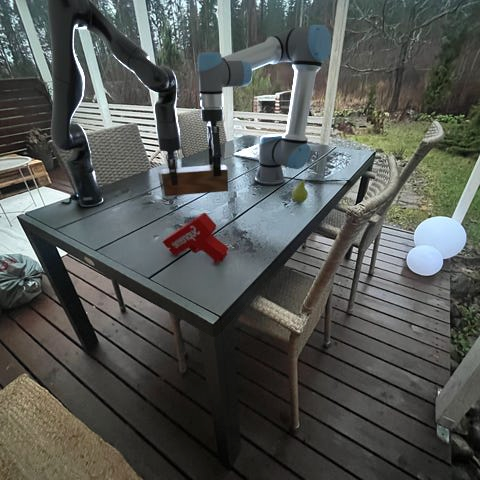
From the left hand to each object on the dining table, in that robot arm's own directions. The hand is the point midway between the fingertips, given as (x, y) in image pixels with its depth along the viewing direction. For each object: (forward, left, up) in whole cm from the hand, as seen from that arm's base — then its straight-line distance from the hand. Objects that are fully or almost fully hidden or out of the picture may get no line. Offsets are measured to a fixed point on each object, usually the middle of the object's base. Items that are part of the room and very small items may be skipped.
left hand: (175, 181), depth 102 cm
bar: (+7, +4, -4) cm, 9 cm away
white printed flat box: (+12, +99, -15) cm, 101 cm away
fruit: (+44, +29, -15) cm, 55 cm away
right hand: (+13, +8, +3) cm, 16 cm away
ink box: (-14, +18, -15) cm, 27 cm away
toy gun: (+18, -22, -15) cm, 32 cm away
